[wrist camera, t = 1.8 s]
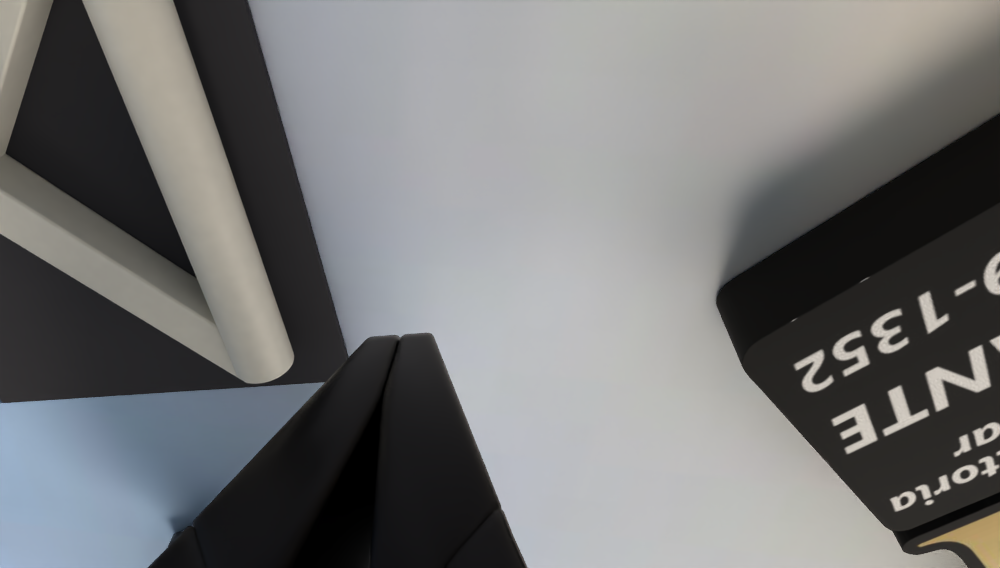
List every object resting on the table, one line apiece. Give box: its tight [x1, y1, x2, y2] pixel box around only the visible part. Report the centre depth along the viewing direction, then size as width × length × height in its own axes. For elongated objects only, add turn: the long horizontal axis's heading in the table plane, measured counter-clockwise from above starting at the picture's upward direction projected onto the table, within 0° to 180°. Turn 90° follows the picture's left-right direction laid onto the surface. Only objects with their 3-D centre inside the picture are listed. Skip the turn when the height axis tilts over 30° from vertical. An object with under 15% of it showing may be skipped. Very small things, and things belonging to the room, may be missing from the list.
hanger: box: [0, 0, 294, 384], centre depth 16 cm, size 14×9×2 cm, turn 5°
